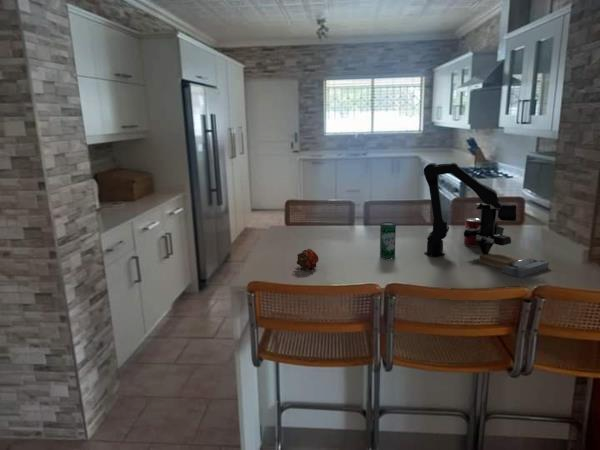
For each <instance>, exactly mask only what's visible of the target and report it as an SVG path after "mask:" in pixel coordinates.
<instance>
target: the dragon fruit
mask: <svg viewBox="0 0 600 450" xmlns="http://www.w3.org/2000/svg"><path fill="white" fill-rule="evenodd" d="M296 256H297V261H296V265H299V266H300V267H301V268H303V269H304V270H306V269H308V270H310V269H311V268H312V269H315V268H317V263H318V262H319V255H317V253H316V252H315V251H314V250H313V249H310V248H307V249H304V250H303V251H301V252H300V253H297V255H296Z"/></svg>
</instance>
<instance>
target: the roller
mask: <svg viewBox="0 0 600 450" xmlns="http://www.w3.org/2000/svg"><path fill="white" fill-rule="evenodd" d="M532 258H533V257H525V258H523V259H522V258H521V259H522V260H518V261H515V262H513V263H511V267H515V268H518V267H521V266H524V265H528V264H531V263H534V261H533V259H532Z"/></svg>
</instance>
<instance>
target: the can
mask: <svg viewBox="0 0 600 450" xmlns="http://www.w3.org/2000/svg"><path fill="white" fill-rule="evenodd" d="M396 224H397V223H396V222H393V221H383V222H380V225H379V227H380V229H379V231H380V232H379V233H380V234H379V239H380V240H379V243H380V244H379V258H380V257H381V258H380V259H382V258H385V259H384V260H386V259H387V260H388V259H390V260H392V259H391V258H394V259H395V258H396V233H397V231H396V227H397V225H396Z"/></svg>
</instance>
